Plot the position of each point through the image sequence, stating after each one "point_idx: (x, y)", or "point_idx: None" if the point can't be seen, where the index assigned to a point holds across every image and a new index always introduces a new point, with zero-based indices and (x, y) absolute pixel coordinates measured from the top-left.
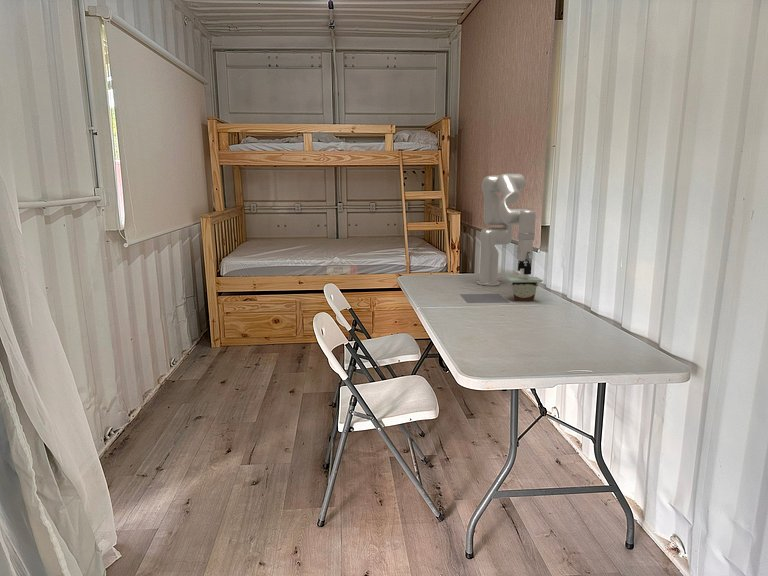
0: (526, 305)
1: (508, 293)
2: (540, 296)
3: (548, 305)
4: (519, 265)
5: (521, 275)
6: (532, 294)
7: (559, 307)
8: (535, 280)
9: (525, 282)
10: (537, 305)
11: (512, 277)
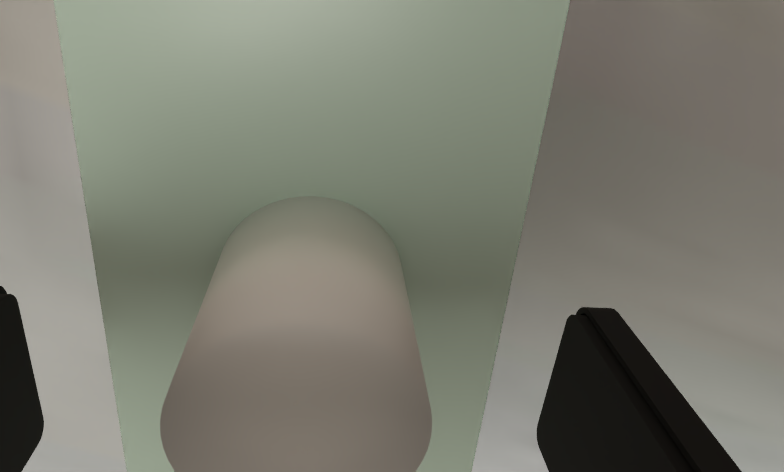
0: (66, 91)
1: (759, 123)
2: (514, 385)
3: (93, 324)
4: (634, 441)
5: (242, 249)
6: None
7: None
8: (120, 417)
9: None
10: (81, 219)
11: (482, 80)
